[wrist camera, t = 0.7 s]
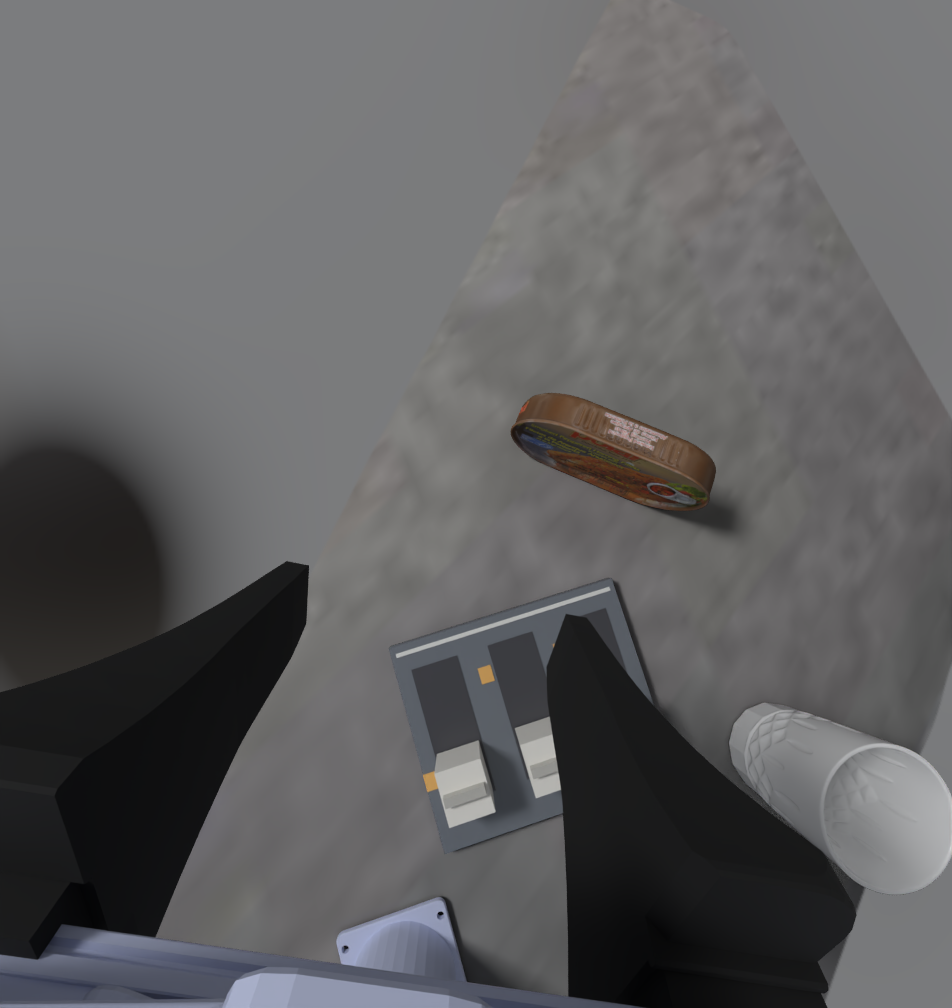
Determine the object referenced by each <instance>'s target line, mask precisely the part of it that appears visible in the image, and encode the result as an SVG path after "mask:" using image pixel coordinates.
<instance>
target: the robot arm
mask: <svg viewBox="0 0 952 1008" xmlns="http://www.w3.org/2000/svg"><path fill="white" fill-rule="evenodd" d="M308 575H309V565H303V564H298V563H293V562H288V561H286V562H285V563H284V564H282V565H280V566H278V567H277V568H275V569H274V570H272V571H271V572H269V573H267V574H266V575H264V576H263V577H261V578H260V579H258V580H257V581H255V582H254V583H252V584H251V585H249V586H247V587H246V588H244V589H243V590H241V591H239V592H238V593H236V594H235V595H233V596H231V597H230V598H228V599H227V600H225V601H223V602H222V603H220V604H218V605H216V606H215V607H213V608H211V609H209V610H208V611H206V612H204V613H202V614H200V615H198V616H197V617H195V618H193V619H191V620H190V621H188V622H186V623H184V624H182V625H180V626H178V627H176V628H174V629H172V630H170V631H168V632H166V633H163V634H161V635H159V636H157V637H155V638H153V639H150V640H148V641H146V642H144V643H141V644H139V645H137V646H135V647H132V648H130V649H127V650H125V651H122V652H119V653H117V654H114V655H112V656H109V657H107V658H104V659H102V660H99V661H97V662H94V663H91V664H89V665H86V666H83V667H80V668H77V669H74V670H72V671H69V672H66V673H63V674H60V675H57V676H54V677H50V678H48V679H44V680H41V681H38V682H35V683H32V684H28V685H25V686H22V687H18V688H15V689H11V690H8V691H4V692H0V1008H827V1006H826V1003H825V1001H824V999H823V997H822V995H821V993H826V992H827V991H828V983H827V981H826V979H825V977H824V975H823V973H822V970H821V968H820V966H819V964H818V961H819V960H820V959H821V958H822V957H823V956H825V955H826V954H827V953H828V952H829V951H830V950H832V949H833V948H834V947H835V946H836V945H838V944H839V943H840V942H841V941H842V940H843V939H844V938H845V937H846V936H847V935H848V934H849V933H850V932H851V930H852V928H853V925H854V921H855V918H856V912H855V908H854V905H853V903H852V901H851V900H850V898H849V896H848V894H847V893H846V891H845V889H844V887H843V886H842V884H841V882H840V881H839V879H838V877H837V875H836V874H835V872H834V870H833V868H832V867H831V865H830V863H829V861H828V860H827V858H826V856H825V855H824V853H823V852H822V851H821V850H820V849H819V848H817V847H816V846H814V845H813V844H812V843H810V842H809V841H808V840H806V839H805V838H803V837H802V836H801V835H799V834H798V833H796V832H795V831H794V830H792V829H791V828H790V827H788V826H787V825H785V824H784V823H783V822H781V821H780V820H778V819H777V818H776V817H774V816H773V815H772V814H770V813H769V812H768V811H766V810H765V809H764V808H763V807H761V806H760V805H759V804H758V803H756V802H755V801H754V800H753V799H751V798H750V797H749V796H748V795H746V794H745V793H744V792H743V791H741V790H740V789H739V788H738V787H737V786H735V785H734V784H733V783H732V782H731V781H730V780H728V779H727V778H726V777H725V776H724V775H723V774H721V773H720V772H719V771H718V770H717V769H716V768H715V767H714V766H713V765H712V764H710V763H709V762H708V761H707V760H706V759H705V758H704V757H703V756H702V755H701V754H700V753H698V752H697V751H696V750H695V749H694V748H693V747H692V746H691V745H690V744H689V743H688V742H687V741H686V740H685V739H684V738H683V737H682V736H681V735H680V734H679V733H678V732H677V731H676V730H675V728H674V727H673V726H672V725H671V724H670V723H669V722H668V721H667V720H666V719H665V718H664V717H663V716H662V715H661V714H660V712H659V711H658V710H657V709H656V708H655V707H654V706H653V704H652V703H651V702H650V701H649V700H648V698H647V697H646V696H645V695H644V694H643V692H642V691H641V690H640V689H639V688H638V686H637V685H636V684H635V683H634V681H633V680H632V679H631V678H630V676H629V675H628V674H627V672H626V671H625V670H624V668H623V667H622V666H621V664H620V663H619V662H618V660H617V659H616V658H615V656H614V655H613V653H612V652H611V651H610V649H609V648H608V646H607V645H606V644H605V642H604V641H603V639H602V638H601V636H600V635H599V634H598V632H597V631H596V629H595V628H594V627H593V625H592V624H591V622H590V621H589V620H588V618H586V617H581V616H575V615H570V614H566V615H565V617H564V620H563V623H562V626H561V628H560V631H559V634H558V637H557V639H556V642H555V645H554V648H553V650H552V653H551V656H550V659H549V661H548V664H547V667H546V670H547V702H548V709H549V716H550V722H551V729H552V735H553V742H554V748H555V754H556V760H557V767H558V773H559V779H560V786H561V795H562V805H563V821H564V837H565V857H566V880H567V914H568V996H569V997H568V996H561V995H554V994H547V993H540V992H533V991H526V990H519V989H512V988H505V987H498V986H491V985H484V984H477V983H470V982H467V980H466V977H465V973H464V969H463V965H462V962H461V958H460V954H459V951H458V947H457V943H456V939H455V936H454V932H453V928H452V925H451V921H450V917H449V913H448V910H447V906H446V902H445V900H444V899H443V898H441V897H437V898H434V899H431V900H428V901H425V902H423V903H420V904H417V905H414V906H411V907H408V908H406V909H403V910H400V911H397V912H394V913H391V914H389V915H386V916H383V917H380V918H377V919H375V920H372V921H369V922H366V923H363V924H360V925H358V926H355V927H352V928H349V929H346V930H343V931H342V932H340V933H339V935H338V938H337V947H338V951H339V956H340V960H341V964H337V963H330V962H323V961H316V960H309V959H302V958H295V957H288V956H281V955H274V954H267V953H260V952H253V951H246V950H239V949H232V948H225V947H218V946H211V945H204V944H197V943H190V942H183V941H176V940H169V939H162V938H155V937H156V934H157V932H158V929H159V927H160V924H161V922H162V920H163V917H164V915H165V912H166V910H167V907H168V905H169V903H170V900H171V898H172V895H173V893H174V890H175V888H176V886H177V883H178V881H179V878H180V876H181V874H182V872H183V869H184V867H185V865H186V862H187V860H188V858H189V855H190V853H191V851H192V848H193V846H194V844H195V841H196V839H197V837H198V835H199V832H200V830H201V828H202V826H203V823H204V821H205V819H206V817H207V815H208V812H209V810H210V808H211V806H212V804H213V801H214V799H215V797H216V795H217V793H218V790H219V788H220V786H221V784H222V782H223V780H224V778H225V775H226V773H227V771H228V769H229V767H230V765H231V763H232V761H233V759H234V756H235V754H236V752H237V750H238V748H239V746H240V744H241V743H242V741H243V739H244V737H245V735H246V733H247V731H248V730H249V728H250V726H251V725H252V723H253V721H254V720H255V718H256V716H257V715H258V713H259V711H260V710H261V708H262V706H263V705H264V703H265V701H266V700H267V698H268V696H269V695H270V693H271V691H272V690H273V688H274V686H275V684H276V683H277V681H278V679H279V678H280V676H281V674H282V673H283V671H284V669H285V668H286V666H287V664H288V662H289V661H290V659H291V657H292V655H293V653H294V651H295V648H296V646H297V644H298V642H299V639H300V637H301V635H302V632H303V630H304V628H305V625H306V618H307V597H308ZM438 912H443V913H444V914H443V915H438ZM345 945H346V946H348V947H349V948H348V949H345V948H344V947H343V946H345Z"/></svg>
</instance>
